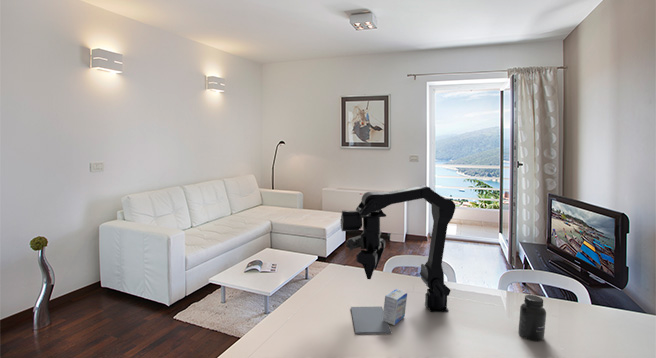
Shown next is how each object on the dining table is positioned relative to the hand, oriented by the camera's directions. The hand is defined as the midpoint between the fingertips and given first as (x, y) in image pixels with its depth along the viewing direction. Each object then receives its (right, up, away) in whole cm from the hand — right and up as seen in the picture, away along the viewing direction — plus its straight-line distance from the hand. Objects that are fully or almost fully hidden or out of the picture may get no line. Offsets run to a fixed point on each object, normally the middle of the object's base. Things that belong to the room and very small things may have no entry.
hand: (371, 273), depth 119 cm
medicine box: (+7, -14, -4) cm, 16 cm away
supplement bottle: (+47, -15, -13) cm, 51 cm away
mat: (-1, -14, -5) cm, 15 cm away
